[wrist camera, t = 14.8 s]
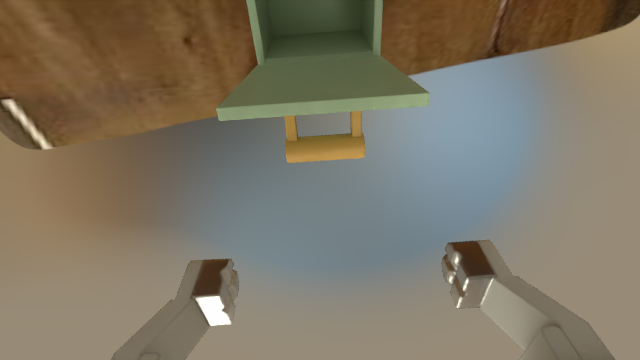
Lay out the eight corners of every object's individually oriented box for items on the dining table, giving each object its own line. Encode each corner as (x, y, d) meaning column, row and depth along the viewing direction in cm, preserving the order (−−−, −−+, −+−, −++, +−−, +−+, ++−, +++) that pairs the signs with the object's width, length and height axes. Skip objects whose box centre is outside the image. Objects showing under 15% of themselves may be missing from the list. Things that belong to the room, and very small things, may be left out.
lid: (215, 107, 19) (232, 181, 21) (430, 92, 18) (422, 168, 21) (257, 64, 32) (264, 112, 34) (380, 55, 32) (379, 104, 34)
